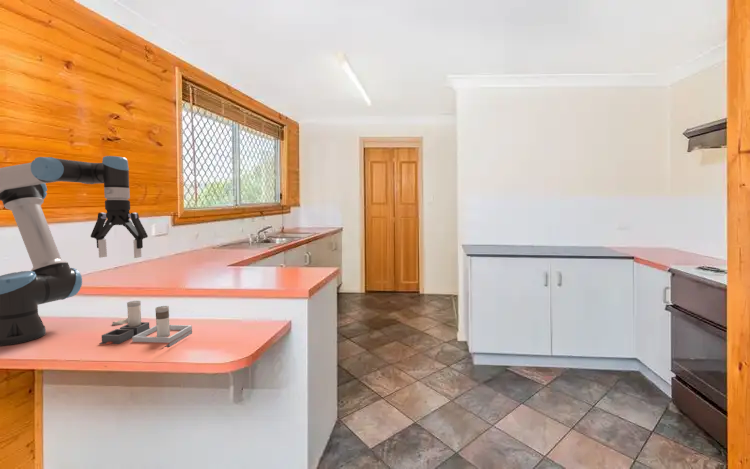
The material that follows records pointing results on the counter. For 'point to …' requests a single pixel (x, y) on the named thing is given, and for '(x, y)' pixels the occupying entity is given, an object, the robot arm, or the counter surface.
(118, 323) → the coral
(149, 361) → the counter surface
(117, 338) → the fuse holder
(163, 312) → the cylinder
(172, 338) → the grey square frame
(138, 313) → the cylinder
